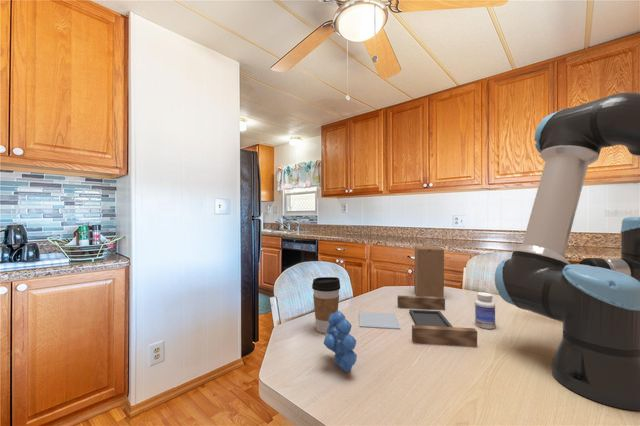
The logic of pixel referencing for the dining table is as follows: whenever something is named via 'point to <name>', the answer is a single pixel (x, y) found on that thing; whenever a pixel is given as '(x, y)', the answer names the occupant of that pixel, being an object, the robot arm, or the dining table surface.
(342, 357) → the grapes
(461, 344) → the walnut lane walls
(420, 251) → the wooden block
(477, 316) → the pill bottle
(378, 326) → the pad
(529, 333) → the dining table surface
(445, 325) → the tray
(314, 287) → the coffee cup
